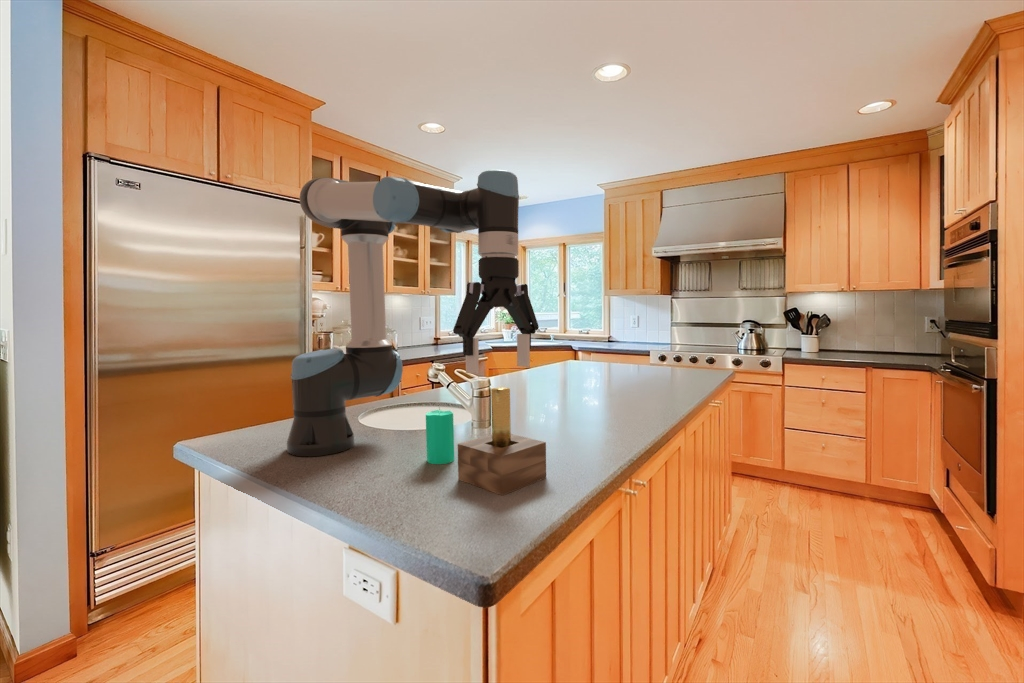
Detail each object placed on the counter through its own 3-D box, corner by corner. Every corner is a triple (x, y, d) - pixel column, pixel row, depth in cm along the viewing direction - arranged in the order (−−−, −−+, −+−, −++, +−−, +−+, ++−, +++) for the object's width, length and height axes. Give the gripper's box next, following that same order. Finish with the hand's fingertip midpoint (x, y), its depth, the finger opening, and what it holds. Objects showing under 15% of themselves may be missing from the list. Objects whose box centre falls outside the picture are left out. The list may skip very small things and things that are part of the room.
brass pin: (488, 461, 93) (487, 389, 92) (502, 456, 96) (500, 386, 95) (501, 465, 91) (500, 391, 90) (515, 460, 93) (513, 388, 92)
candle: (449, 464, 102) (447, 408, 102) (422, 463, 104) (421, 408, 103) (458, 456, 108) (456, 403, 107) (432, 455, 109) (431, 402, 109)
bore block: (458, 479, 93) (457, 443, 93) (502, 464, 102) (502, 431, 102) (502, 495, 85) (501, 456, 85) (546, 477, 94) (545, 442, 93)
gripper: (459, 250, 79) (461, 379, 81) (556, 260, 97) (555, 365, 99) (432, 254, 84) (434, 374, 86) (528, 262, 102) (528, 362, 104)
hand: (499, 369), depth 92 cm, fingers open, 13 cm apart
